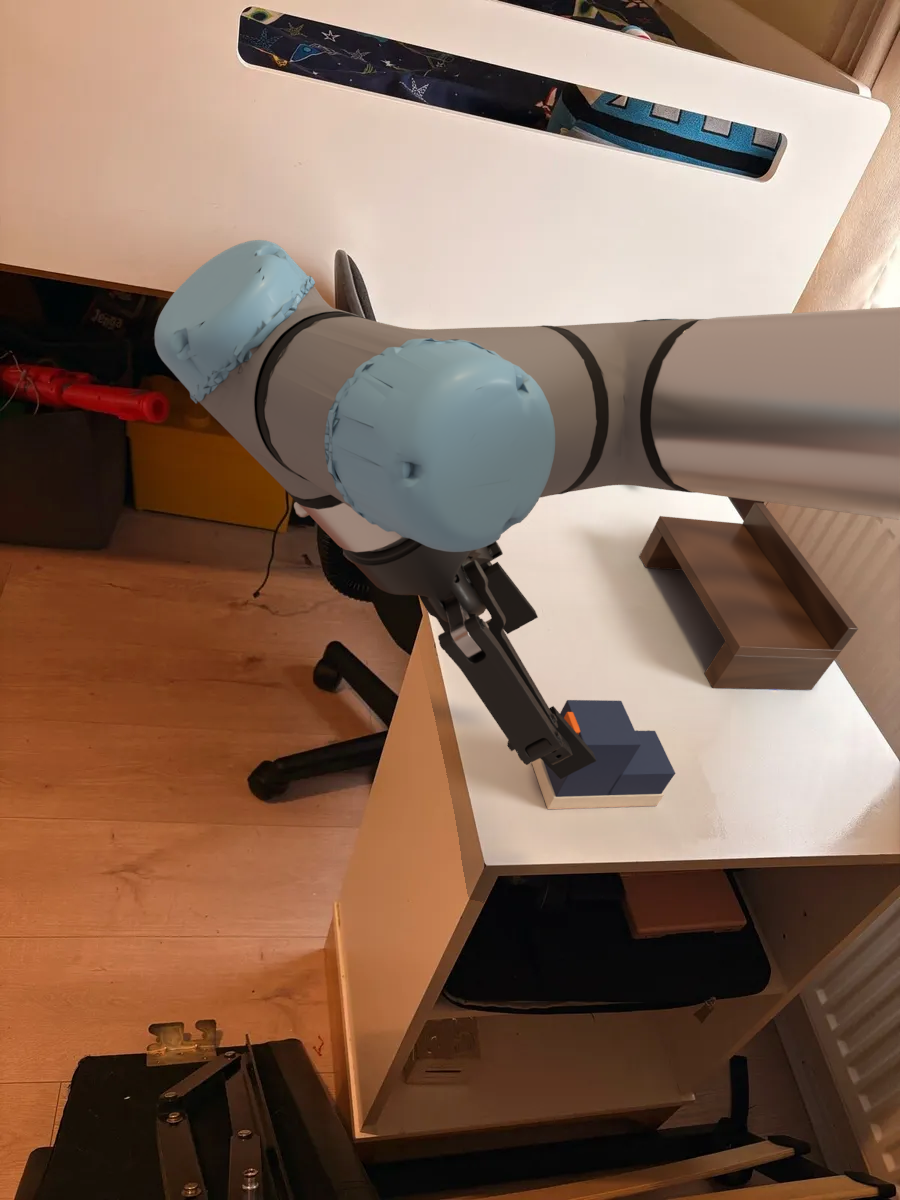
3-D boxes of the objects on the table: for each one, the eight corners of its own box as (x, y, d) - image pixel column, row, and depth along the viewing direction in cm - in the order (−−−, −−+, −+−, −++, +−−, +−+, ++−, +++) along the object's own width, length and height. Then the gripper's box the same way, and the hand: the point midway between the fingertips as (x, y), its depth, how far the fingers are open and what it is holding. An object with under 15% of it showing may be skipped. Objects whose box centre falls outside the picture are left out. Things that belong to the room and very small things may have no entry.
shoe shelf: (811, 690, 92) (858, 628, 86) (712, 688, 88) (755, 623, 82) (727, 562, 106) (763, 503, 100) (638, 556, 102) (671, 493, 96)
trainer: (545, 809, 71) (580, 745, 66) (529, 762, 74) (561, 698, 69) (656, 806, 74) (698, 745, 69) (637, 761, 78) (675, 700, 73)
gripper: (311, 418, 59) (463, 596, 74) (368, 706, 42) (552, 865, 56) (407, 357, 58) (542, 550, 72) (507, 630, 40) (659, 813, 55)
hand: (547, 689), depth 64 cm, fingers open, 13 cm apart
